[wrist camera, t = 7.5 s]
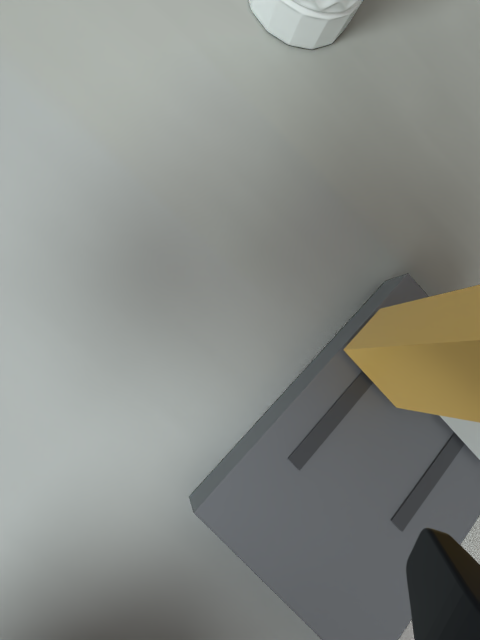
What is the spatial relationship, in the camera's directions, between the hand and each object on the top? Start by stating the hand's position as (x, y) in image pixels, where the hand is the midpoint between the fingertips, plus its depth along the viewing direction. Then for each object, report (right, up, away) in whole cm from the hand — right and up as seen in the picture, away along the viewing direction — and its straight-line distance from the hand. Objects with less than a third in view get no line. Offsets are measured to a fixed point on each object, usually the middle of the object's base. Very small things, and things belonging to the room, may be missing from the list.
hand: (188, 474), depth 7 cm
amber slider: (+8, +1, +11) cm, 14 cm away
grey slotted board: (+8, -4, +13) cm, 16 cm away
